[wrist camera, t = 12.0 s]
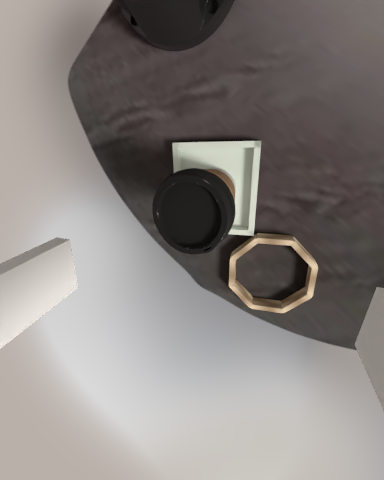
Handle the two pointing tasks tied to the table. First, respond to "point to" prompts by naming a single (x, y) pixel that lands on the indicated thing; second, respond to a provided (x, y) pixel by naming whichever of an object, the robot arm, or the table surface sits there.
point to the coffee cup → (195, 209)
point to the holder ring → (270, 304)
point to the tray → (236, 164)
